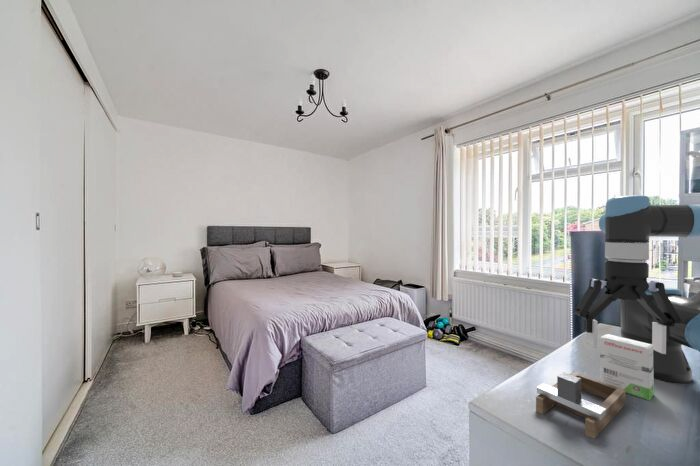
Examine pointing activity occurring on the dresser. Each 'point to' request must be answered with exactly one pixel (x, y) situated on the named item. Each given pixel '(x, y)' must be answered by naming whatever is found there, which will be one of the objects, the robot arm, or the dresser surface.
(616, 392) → the dock
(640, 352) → the ink box
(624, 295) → the robot arm
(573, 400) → the bar
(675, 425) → the dresser surface
